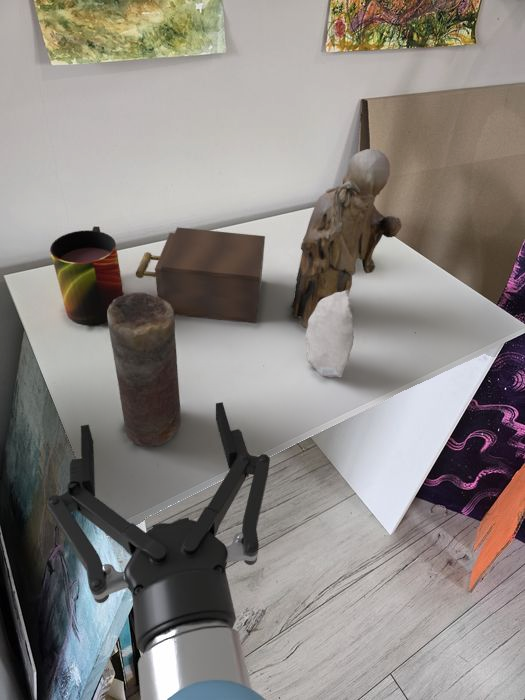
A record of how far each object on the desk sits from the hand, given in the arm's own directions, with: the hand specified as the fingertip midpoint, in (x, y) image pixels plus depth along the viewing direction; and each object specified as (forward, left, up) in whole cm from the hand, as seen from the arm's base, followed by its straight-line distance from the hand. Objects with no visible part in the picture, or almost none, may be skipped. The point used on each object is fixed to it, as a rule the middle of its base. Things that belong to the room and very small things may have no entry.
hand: (155, 421), depth 51 cm
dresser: (+1, +39, -13) cm, 41 cm away
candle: (-3, +9, -13) cm, 16 cm away
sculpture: (+21, +37, -13) cm, 44 cm away
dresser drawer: (-3, +39, -12) cm, 41 cm away
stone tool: (+20, +23, -13) cm, 33 cm away
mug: (-20, +34, -13) cm, 42 cm away
